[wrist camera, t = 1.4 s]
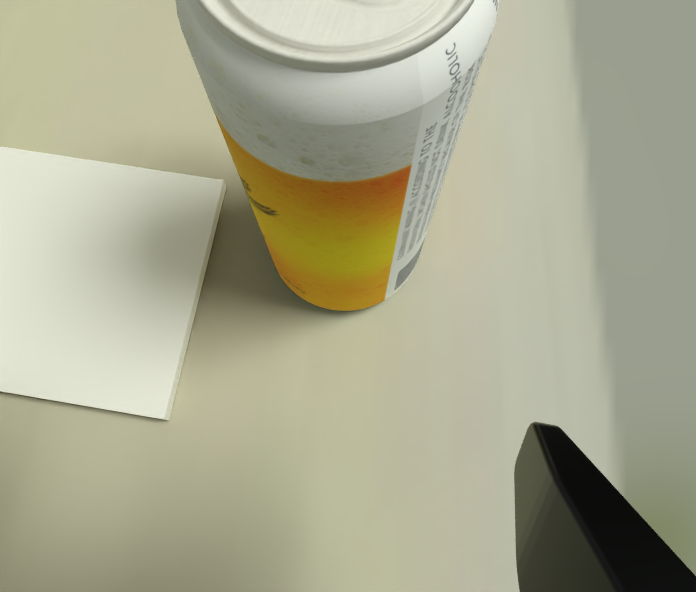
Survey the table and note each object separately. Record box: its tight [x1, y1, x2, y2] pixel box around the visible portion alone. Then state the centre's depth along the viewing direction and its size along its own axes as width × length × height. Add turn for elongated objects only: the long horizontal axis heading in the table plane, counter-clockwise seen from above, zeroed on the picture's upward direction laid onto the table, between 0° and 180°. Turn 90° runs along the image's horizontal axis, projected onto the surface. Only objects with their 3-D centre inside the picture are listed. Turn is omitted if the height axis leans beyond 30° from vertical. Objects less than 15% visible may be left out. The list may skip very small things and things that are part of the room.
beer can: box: [176, 0, 499, 311], centre depth 17 cm, size 6×6×15 cm
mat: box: [0, 147, 227, 420], centre depth 24 cm, size 10×10×1 cm
